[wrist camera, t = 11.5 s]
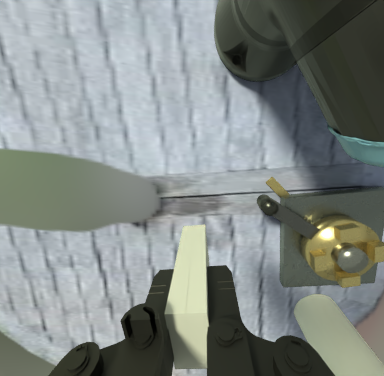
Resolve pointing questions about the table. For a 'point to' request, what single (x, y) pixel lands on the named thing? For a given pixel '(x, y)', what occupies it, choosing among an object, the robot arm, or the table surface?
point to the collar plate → (316, 210)
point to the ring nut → (331, 243)
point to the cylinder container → (336, 338)
